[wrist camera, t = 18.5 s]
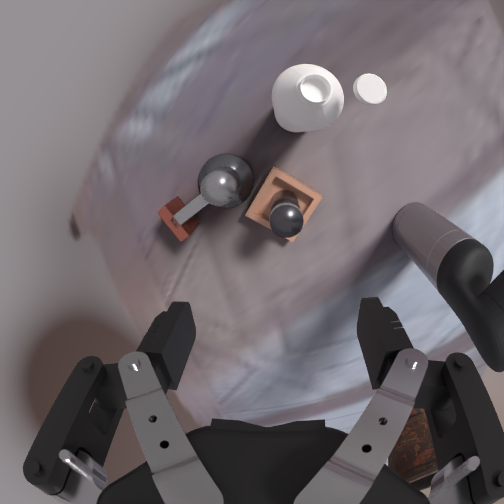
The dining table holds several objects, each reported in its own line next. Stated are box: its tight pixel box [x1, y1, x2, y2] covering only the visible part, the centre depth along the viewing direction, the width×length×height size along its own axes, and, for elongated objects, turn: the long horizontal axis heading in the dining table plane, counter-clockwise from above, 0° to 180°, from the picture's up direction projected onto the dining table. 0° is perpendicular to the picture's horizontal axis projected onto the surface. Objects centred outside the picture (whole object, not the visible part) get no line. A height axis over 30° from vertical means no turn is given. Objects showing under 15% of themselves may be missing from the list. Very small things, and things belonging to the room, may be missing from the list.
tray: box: [245, 166, 323, 242], centre depth 44 cm, size 9×9×2 cm
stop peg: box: [269, 190, 304, 238], centre depth 40 cm, size 4×4×10 cm
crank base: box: [199, 154, 254, 208], centre depth 44 cm, size 9×9×1 cm
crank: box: [157, 167, 240, 242], centre depth 42 cm, size 12×6×6 cm, turn 126°
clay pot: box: [388, 408, 439, 491], centre depth 54 cm, size 25×29×30 cm
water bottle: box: [272, 64, 387, 132], centre depth 28 cm, size 9×6×25 cm
